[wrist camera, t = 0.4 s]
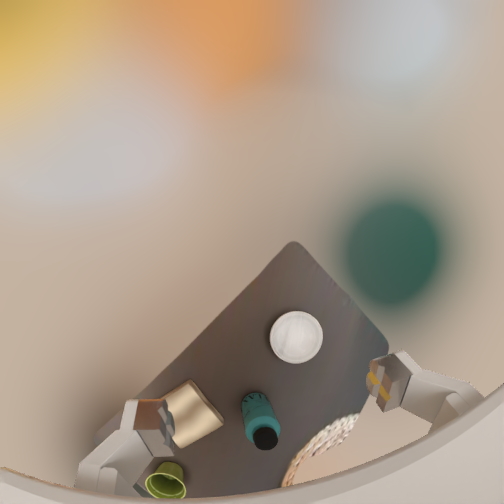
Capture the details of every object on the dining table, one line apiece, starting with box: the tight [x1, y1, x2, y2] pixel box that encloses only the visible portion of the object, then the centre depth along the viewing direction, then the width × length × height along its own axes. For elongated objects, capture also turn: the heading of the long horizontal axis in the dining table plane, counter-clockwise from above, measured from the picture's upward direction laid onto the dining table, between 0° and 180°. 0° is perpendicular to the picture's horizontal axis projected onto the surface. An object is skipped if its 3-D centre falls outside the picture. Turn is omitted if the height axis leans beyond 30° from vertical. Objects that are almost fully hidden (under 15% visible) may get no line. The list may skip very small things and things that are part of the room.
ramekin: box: [270, 311, 323, 363], centre depth 59 cm, size 11×11×5 cm
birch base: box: [159, 379, 223, 448], centre depth 55 cm, size 12×12×4 cm
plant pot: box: [145, 462, 186, 499], centre depth 49 cm, size 9×9×9 cm
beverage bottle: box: [241, 393, 280, 450], centre depth 49 cm, size 6×7×20 cm
